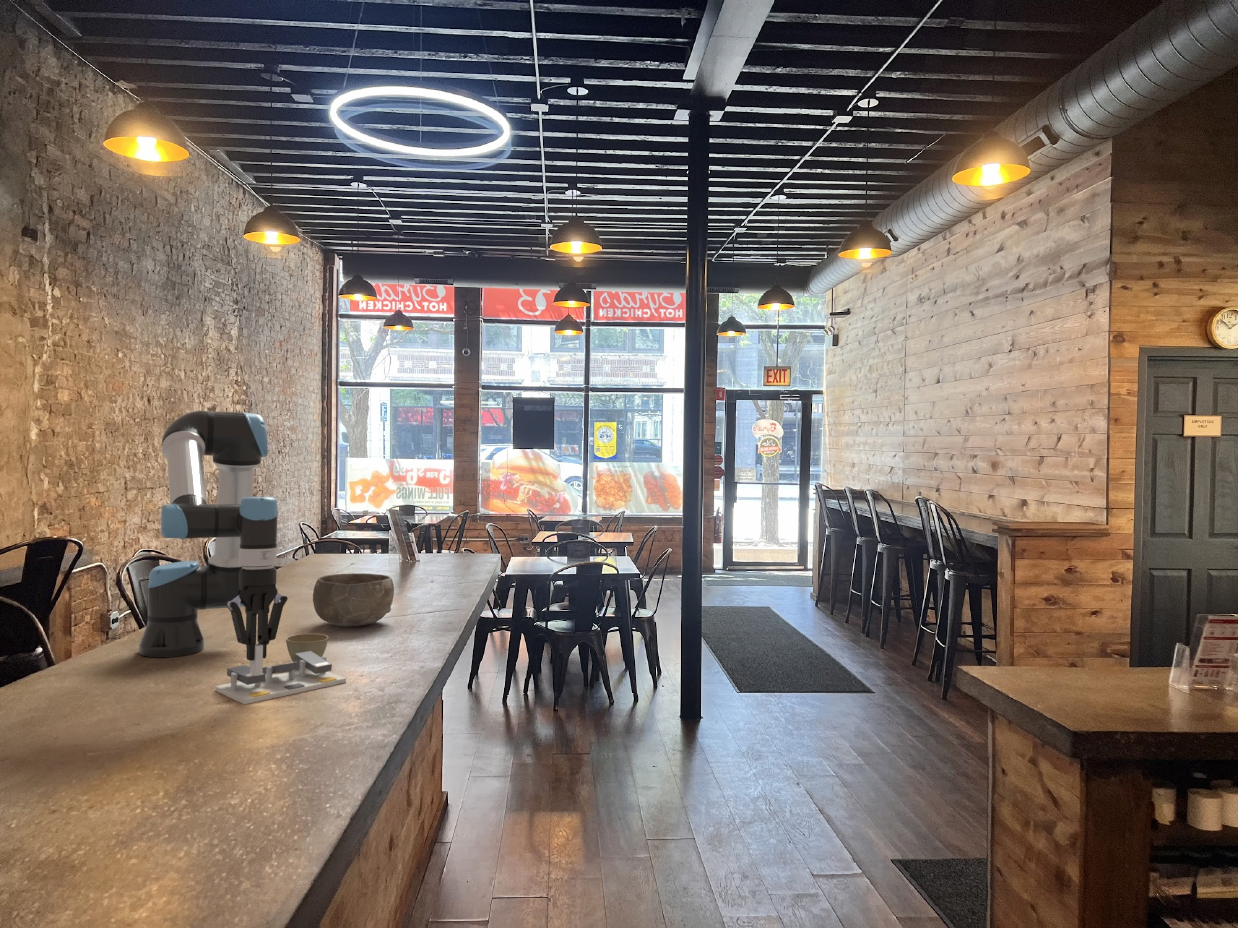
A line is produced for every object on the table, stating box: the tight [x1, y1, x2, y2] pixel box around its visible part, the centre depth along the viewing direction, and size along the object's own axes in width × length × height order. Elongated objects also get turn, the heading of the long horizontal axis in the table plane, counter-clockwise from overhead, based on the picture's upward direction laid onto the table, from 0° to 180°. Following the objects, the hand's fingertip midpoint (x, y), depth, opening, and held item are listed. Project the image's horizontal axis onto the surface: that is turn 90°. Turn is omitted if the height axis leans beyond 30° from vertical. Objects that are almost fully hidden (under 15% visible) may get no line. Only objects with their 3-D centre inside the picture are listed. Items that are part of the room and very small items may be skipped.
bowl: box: [312, 572, 395, 627], centre depth 251 cm, size 24×24×15 cm
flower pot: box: [285, 633, 329, 669], centre depth 203 cm, size 10×10×7 cm
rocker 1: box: [226, 665, 266, 685], centre depth 180 cm, size 10×4×2 cm, turn 50°
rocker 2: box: [262, 661, 300, 674], centre depth 186 cm, size 10×4×2 cm, turn 50°
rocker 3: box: [294, 651, 333, 674], centre depth 192 cm, size 10×4×2 cm, turn 50°
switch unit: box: [215, 655, 347, 705], centre depth 185 cm, size 14×24×5 cm, turn 140°
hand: (256, 674), depth 177 cm, fingers closed
